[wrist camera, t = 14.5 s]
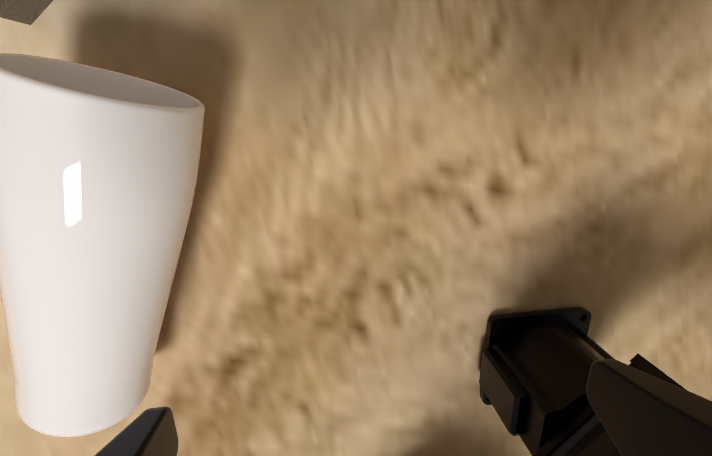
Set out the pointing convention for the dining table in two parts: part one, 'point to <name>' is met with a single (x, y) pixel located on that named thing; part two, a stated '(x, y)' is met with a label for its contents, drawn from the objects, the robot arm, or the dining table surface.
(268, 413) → the dining table surface
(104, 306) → the drinking glass
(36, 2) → the grey slotted base block
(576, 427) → the robot arm
